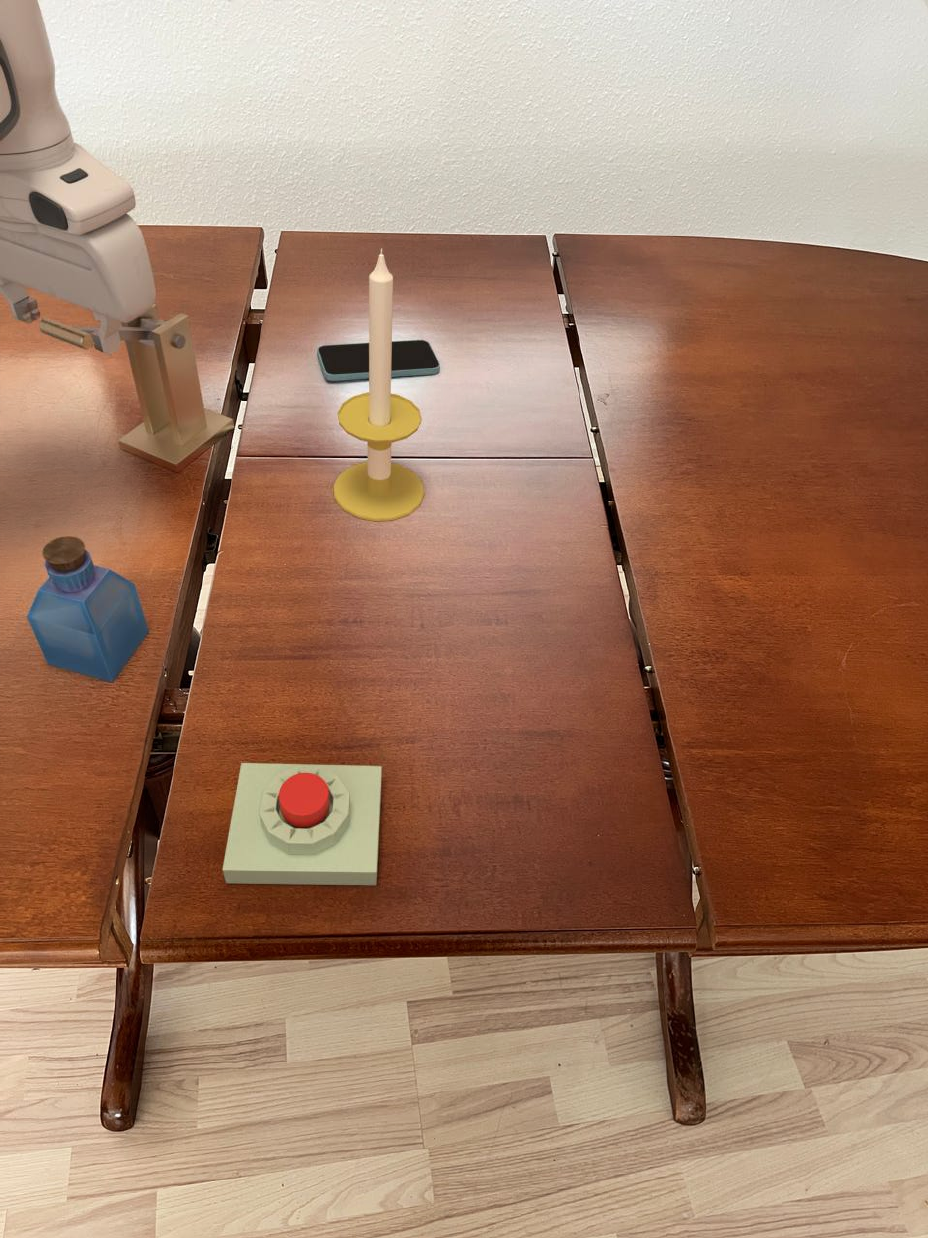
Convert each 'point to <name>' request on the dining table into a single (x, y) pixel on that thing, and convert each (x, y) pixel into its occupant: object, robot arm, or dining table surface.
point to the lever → (83, 334)
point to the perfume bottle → (85, 613)
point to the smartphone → (355, 360)
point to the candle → (379, 423)
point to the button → (304, 799)
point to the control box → (305, 829)
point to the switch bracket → (170, 397)
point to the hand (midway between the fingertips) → (68, 334)
